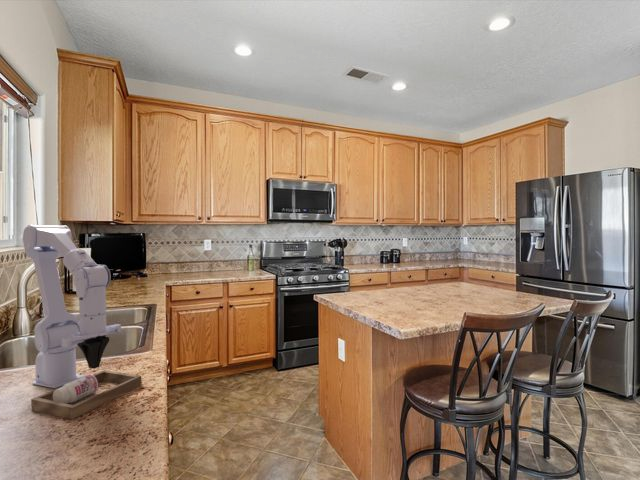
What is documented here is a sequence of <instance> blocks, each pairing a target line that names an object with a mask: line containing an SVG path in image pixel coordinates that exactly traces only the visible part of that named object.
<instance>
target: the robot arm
mask: <svg viewBox="0 0 640 480" xmlns="http://www.w3.org/2000/svg"><path fill="white" fill-rule="evenodd" d="M72 237H73V236H72V230H71V229H70V227H69V226H68V225H66V224H65V225H45V224H43V225H42V224H41V225H39V224H38V225H37V224H35V225H33V224H28V225H27V226H25V228H24V229H23V233H22V242H23V243H22V244H23V248H24V252H25V255H26V257H27V258H29V259H31V260H33V265H34V268H35V274H36V279H37V284H38V288H39V293H40V294H39V295H40V298H41V303H42V308H43V314H44V317H43V318H42V319H41V320H40V321H38V322H37V323H36V324H35V326H34V330H33V331H34V346H35V348H36V350H37V351H39V352H38V354H37V355H36V358H35V363H34V365H35V380H34V381H32V382H31V384H32V385H36V386H40V387H41V386H42V387H45V388H47V387H48V388H51V389H52V388H53V389H58V388H61V387H63V386H64V385H65V384H67V383H69V382H72V381H74V380H77V379H79V378H82V377H84V376H85V375H83V374H78V373H77V351H76V348H77V347H78V348H79V349H80V350H81V351H82V354H83V355H84V358H85V360H86V362H87V365H88V366H87V367H88V368H89V369H94V370H95V369H97V368H100V365H101V360H102V357H103V354H104V352H105V349H106V347H107V345H108V344H109V342H110V336H109V335H112V334H114V333H115V334H116V333H120V332H122V324H121V323H120V324H119V323H118V324H117V323H114V324H110V325H107V292H106V291H107V287H109V286H110V283H111V279H112V278H111V277H112V276H111V271H110V269H109V268H108V266H107V265H106V264H97V263H96V262H95V260H94V258H92V257H91V255H89V254H88V252H86V251H85V249H78V248H77V246H76V244H75V243H74V241H72ZM59 257H63V260H62V262H63V263H62V264H63V265H64V266H65V268H67V270H68V271H69V272H70V274H71V275H72V276H73V281H72V282H73V284H74V287H75V291H76V294H75V295H76V297H77V298H78V307H79V309H78V312H79V313H78V314H79V315H75V314H73V313H70V312H68V310H67V306H66V303H65V298H64V292H63V289H62V283H61V280H60V274H59V270H58V265H57V258H59ZM78 317H79V318H78ZM108 336H109V337H108Z"/></svg>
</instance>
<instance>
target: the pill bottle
mask: <svg viewBox="0 0 640 480" xmlns="http://www.w3.org/2000/svg"><path fill="white" fill-rule="evenodd" d="M93 375H94V374H86V375H84V377H82V378H79V379H77V380H74V381H72V382H69V383H67V384H65V385H63V386H60V387H58V388H55V389H54V390H55V391H54V392H53V401H56V402H60V403H65V404H72V403H75V402H77V401H79V400H81V399H83V398H85V397H88V396H89V395H92V394H93V393H95V392H97V390H98V388H99V383H98V381H97V379H96V377H95V376H93Z"/></svg>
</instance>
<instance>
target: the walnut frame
mask: <svg viewBox="0 0 640 480" xmlns="http://www.w3.org/2000/svg"><path fill="white" fill-rule="evenodd" d="M92 375H93V376H95V377H96V379H97V381H98V384H99V383H102V382H110V383H115V384H117V385H115V386H113V387H111V388H109V389H106V390H104V391H102V392H100V393H97V394H95V395H93V396H91V397H89V398H87V399H84V400H82V401H80V402H78V403H76V404H71V403H67V404H65V403H60V402H56V401H53V392H54V391H55V390H56V389H53V390H51V391H48V392H47V393H43V394H41V395H38V396H36V397H34V398H32V399H30V401H31V403H30V404H31V405H30V406H31V411H34V412H39V413H43V414H48V415H52V416H56V417H60V418H65V419H69V420H74V419H76V418H78V417H80V416H83V415H84V414H87V413H88V412H90V411H92V410H94V409H96V408H98V407H100V406H102V405H105V404H107V403H109V402H111V401H113V400H115V399H116V398H119V397H121V396H122V395H125V394H126V393H129V392H131V391H133V390H135V389H137V388H140V387H141V386H142V375H137V374H130V373H124V372H118V371H111V370H105V369H104V370H101V371H100V372H96V373H93V374H92Z"/></svg>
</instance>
